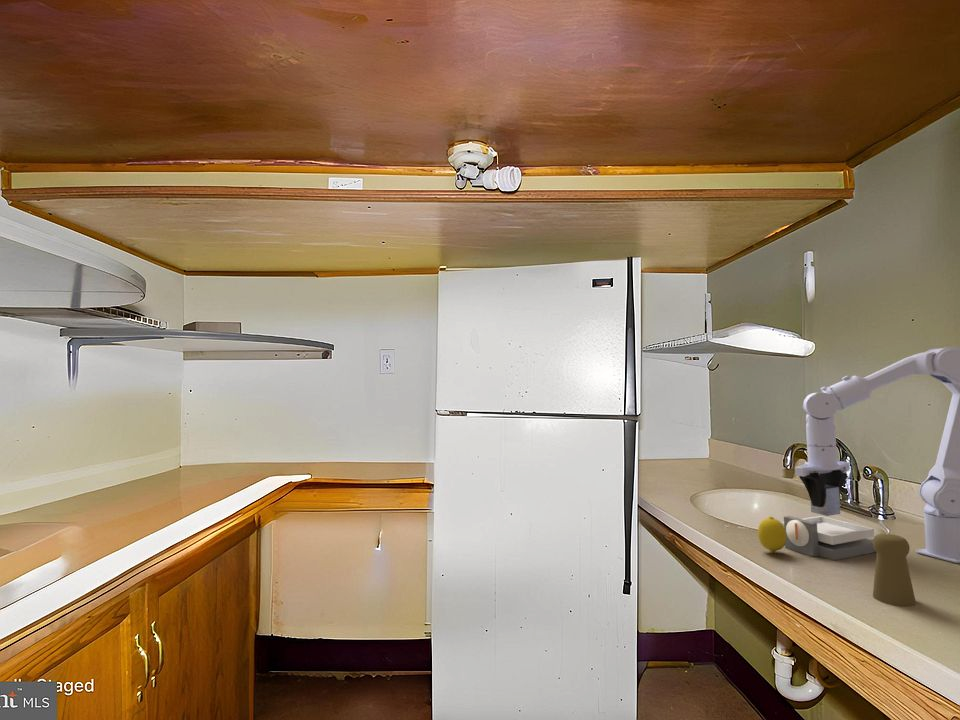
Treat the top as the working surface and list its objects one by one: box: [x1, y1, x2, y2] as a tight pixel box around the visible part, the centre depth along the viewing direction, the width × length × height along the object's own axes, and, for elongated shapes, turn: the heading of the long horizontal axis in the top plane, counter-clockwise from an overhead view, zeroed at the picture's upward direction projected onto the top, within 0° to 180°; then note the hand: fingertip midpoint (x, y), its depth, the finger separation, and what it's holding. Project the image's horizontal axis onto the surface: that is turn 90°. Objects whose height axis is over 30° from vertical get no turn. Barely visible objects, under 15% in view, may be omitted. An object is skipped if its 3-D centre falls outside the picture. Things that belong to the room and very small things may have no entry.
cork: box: [872, 533, 917, 607], centre depth 96 cm, size 6×6×11 cm
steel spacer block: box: [810, 485, 841, 517], centre depth 125 cm, size 4×4×6 cm
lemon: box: [757, 516, 786, 554], centre depth 122 cm, size 6×6×8 cm
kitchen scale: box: [780, 515, 877, 561], centre depth 125 cm, size 16×14×7 cm
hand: (824, 505), depth 125 cm, fingers closed on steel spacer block, 4 cm apart
